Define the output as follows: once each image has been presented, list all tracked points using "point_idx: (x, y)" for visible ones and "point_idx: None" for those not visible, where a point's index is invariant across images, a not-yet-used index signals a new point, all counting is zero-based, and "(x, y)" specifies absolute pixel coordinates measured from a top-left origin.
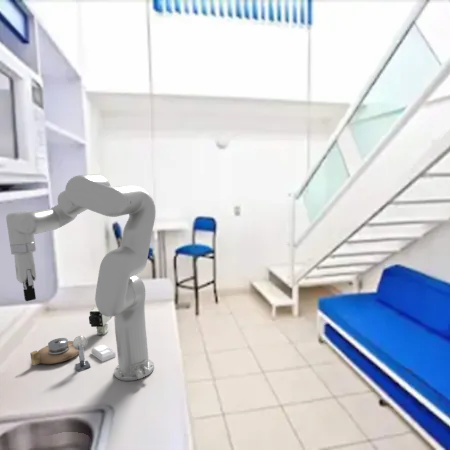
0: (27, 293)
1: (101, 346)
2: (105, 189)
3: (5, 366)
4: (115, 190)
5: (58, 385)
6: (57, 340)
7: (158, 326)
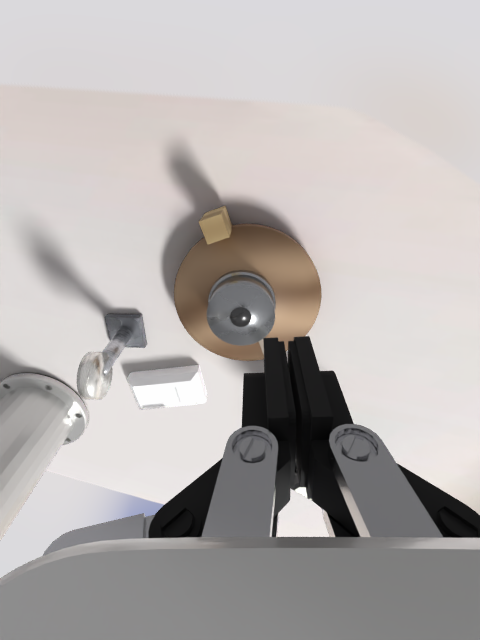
0: (251, 407)
1: (186, 397)
2: None
3: (301, 108)
4: None
5: (47, 254)
6: (251, 318)
7: None
